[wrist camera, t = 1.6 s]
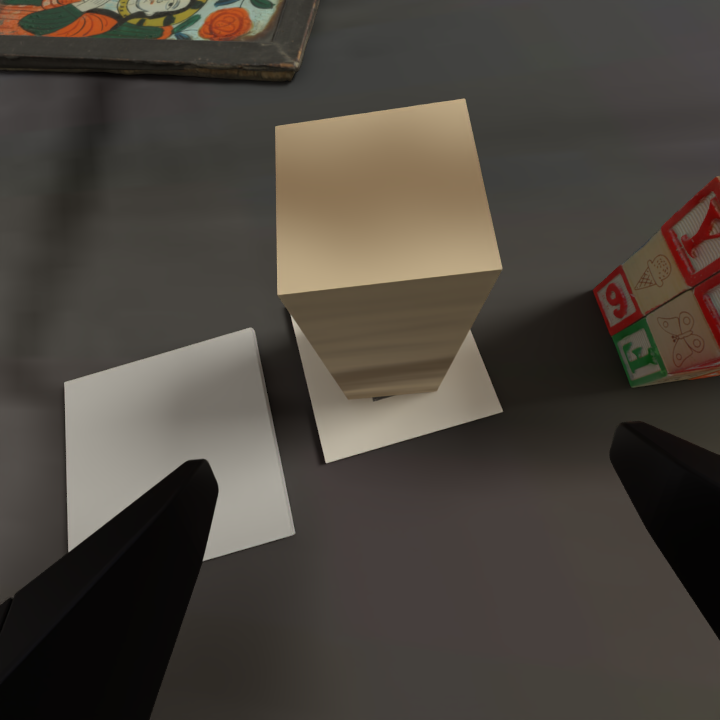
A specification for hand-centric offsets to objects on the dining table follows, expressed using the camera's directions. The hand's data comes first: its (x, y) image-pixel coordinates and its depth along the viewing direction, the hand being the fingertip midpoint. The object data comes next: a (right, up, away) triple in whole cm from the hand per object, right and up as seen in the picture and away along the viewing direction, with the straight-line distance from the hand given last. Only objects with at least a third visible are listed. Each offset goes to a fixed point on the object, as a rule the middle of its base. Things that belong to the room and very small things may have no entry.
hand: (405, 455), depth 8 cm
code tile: (+1, +2, +14) cm, 14 cm away
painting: (-20, +39, +27) cm, 51 cm away
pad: (-12, -3, +13) cm, 18 cm away
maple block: (+1, +3, +13) cm, 13 cm away
